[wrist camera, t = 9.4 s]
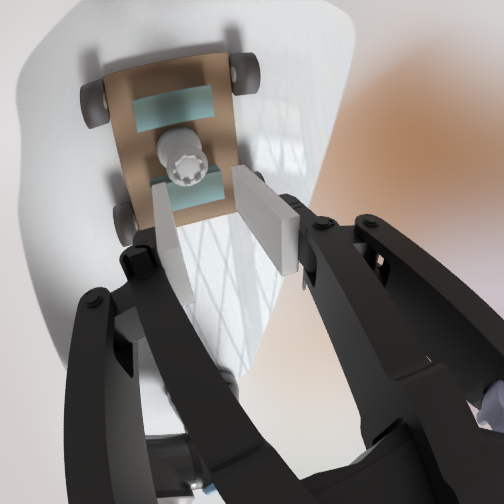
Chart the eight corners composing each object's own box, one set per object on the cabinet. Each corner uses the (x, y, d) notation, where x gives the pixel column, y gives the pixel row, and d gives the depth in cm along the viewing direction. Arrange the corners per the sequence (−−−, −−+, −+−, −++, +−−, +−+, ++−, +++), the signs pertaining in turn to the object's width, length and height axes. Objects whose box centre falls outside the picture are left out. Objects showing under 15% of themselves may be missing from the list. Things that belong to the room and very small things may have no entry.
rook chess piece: (147, 142, 24) (147, 163, 18) (186, 117, 24) (200, 129, 18) (170, 176, 27) (179, 208, 21) (207, 153, 27) (228, 177, 21)
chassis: (256, 202, 34) (270, 218, 30) (126, 235, 30) (125, 257, 27) (243, 52, 23) (259, 47, 20) (86, 83, 19) (75, 82, 16)
